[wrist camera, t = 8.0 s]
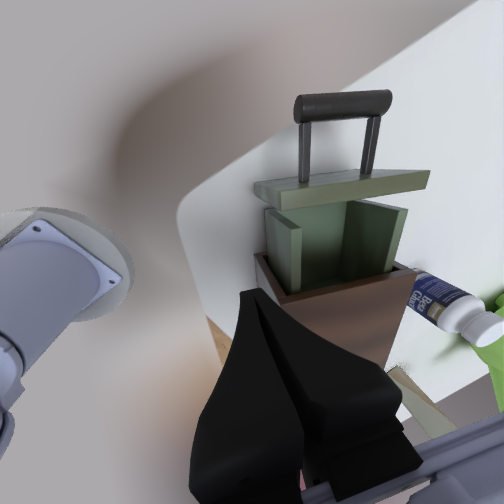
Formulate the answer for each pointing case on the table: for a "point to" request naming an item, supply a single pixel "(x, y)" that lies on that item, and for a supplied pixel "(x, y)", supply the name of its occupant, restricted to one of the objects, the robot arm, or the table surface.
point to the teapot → (495, 358)
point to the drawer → (335, 203)
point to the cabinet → (348, 308)
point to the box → (421, 406)
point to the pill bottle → (454, 310)
